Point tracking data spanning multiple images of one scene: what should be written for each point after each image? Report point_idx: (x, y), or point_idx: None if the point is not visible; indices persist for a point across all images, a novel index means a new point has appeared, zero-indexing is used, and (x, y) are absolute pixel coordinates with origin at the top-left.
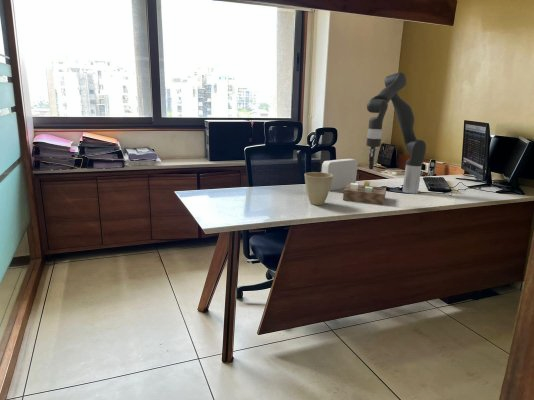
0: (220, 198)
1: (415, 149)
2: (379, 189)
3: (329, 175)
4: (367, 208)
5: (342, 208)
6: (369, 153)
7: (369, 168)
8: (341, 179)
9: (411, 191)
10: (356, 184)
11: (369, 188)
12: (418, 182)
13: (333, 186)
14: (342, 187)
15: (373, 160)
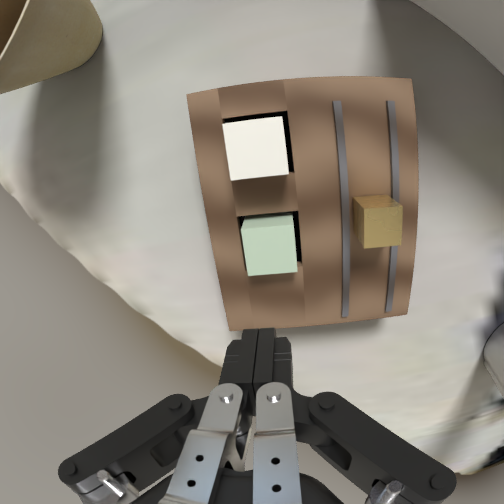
0: None
1: None
2: (342, 294)
3: (17, 38)
4: (132, 249)
5: (68, 160)
6: (59, 477)
7: (244, 334)
8: (501, 38)
9: (487, 354)
10: (244, 167)
11: (245, 259)
12: (500, 390)
13: (428, 1)
14: (484, 54)
15: (167, 441)
